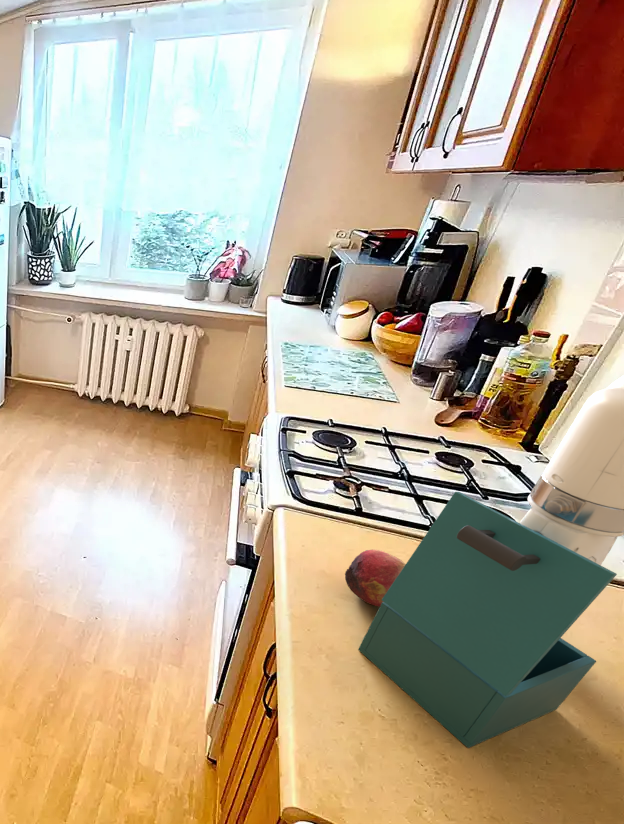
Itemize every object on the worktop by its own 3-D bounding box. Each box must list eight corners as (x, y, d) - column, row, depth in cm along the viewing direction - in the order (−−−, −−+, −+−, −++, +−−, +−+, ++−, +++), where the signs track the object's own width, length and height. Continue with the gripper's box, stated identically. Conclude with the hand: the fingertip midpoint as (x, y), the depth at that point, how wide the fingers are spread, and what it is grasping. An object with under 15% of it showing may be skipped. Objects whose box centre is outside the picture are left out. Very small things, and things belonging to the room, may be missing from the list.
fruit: (407, 626, 73) (431, 585, 70) (345, 611, 76) (365, 570, 72) (390, 588, 80) (411, 548, 76) (333, 575, 82) (351, 535, 79)
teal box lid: (459, 491, 59) (428, 490, 57) (617, 574, 48) (586, 577, 46) (385, 599, 66) (354, 602, 64) (509, 695, 54) (477, 702, 52)
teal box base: (438, 622, 74) (466, 576, 70) (556, 709, 63) (597, 661, 59) (357, 649, 70) (381, 602, 66) (467, 748, 58) (505, 698, 54)
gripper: (576, 541, 49) (488, 668, 58) (679, 509, 54) (585, 631, 62) (487, 496, 56) (420, 616, 64) (587, 471, 60) (512, 586, 69)
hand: (502, 622), depth 63 cm, fingers closed on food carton, 5 cm apart
